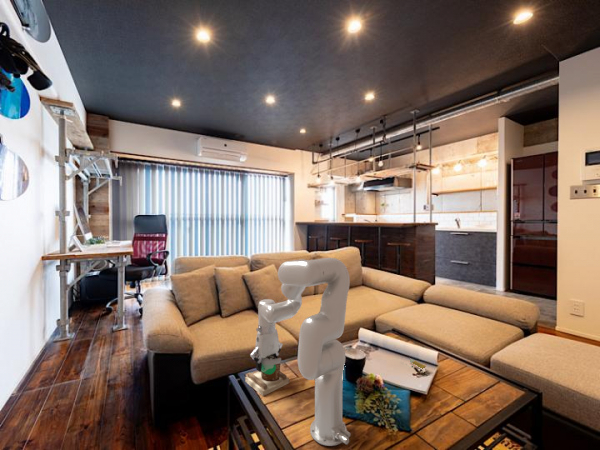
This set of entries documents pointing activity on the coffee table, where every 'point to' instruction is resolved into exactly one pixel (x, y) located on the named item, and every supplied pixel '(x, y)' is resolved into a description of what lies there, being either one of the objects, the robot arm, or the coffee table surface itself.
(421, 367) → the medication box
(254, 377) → the base plate
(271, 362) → the food container
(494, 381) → the coffee table surface
